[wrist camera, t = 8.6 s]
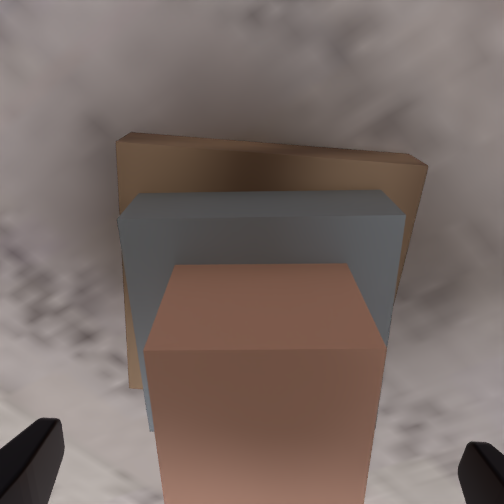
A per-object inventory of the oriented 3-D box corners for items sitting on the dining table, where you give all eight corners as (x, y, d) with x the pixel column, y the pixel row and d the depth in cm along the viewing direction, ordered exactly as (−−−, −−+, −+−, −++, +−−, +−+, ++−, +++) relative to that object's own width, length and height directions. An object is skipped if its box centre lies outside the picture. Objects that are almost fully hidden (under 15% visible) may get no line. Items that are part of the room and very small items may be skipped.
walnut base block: (403, 150, 16) (428, 166, 14) (355, 363, 20) (369, 402, 18) (135, 129, 16) (115, 141, 13) (143, 350, 20) (129, 388, 17)
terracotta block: (346, 263, 12) (387, 348, 9) (334, 395, 14) (362, 509, 11) (174, 264, 12) (142, 350, 9) (187, 396, 14) (165, 511, 11)
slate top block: (380, 189, 14) (406, 215, 12) (359, 380, 17) (375, 428, 15) (138, 192, 14) (117, 219, 12) (163, 382, 17) (150, 431, 15)
